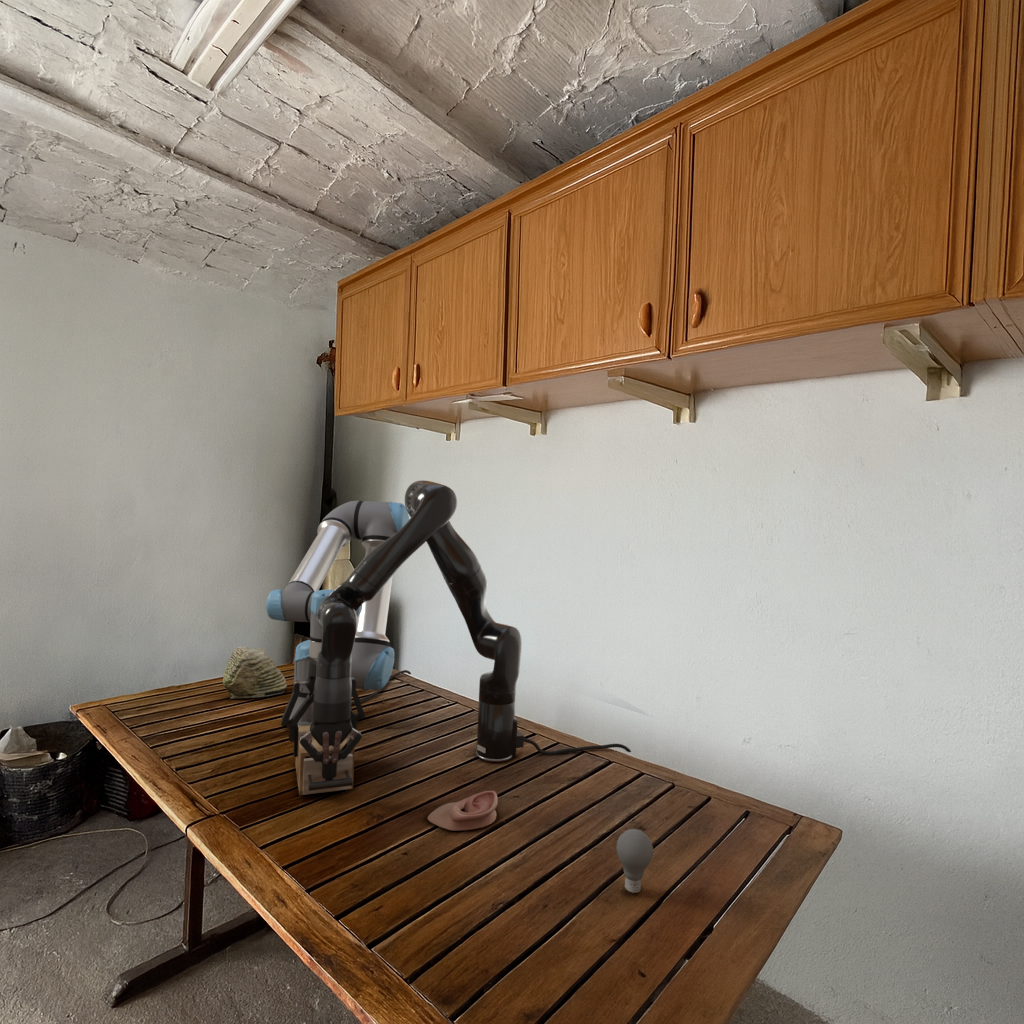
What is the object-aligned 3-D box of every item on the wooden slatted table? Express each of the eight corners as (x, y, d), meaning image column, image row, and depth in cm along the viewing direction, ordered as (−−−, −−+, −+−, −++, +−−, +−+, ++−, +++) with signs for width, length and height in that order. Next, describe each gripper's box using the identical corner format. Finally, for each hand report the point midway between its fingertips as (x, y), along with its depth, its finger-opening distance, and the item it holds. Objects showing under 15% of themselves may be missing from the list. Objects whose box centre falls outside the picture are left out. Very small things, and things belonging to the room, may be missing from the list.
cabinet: (353, 788, 138) (354, 747, 138) (299, 795, 134) (300, 753, 134) (343, 759, 153) (345, 722, 153) (295, 764, 149) (296, 726, 149)
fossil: (218, 695, 195) (220, 647, 195) (278, 685, 208) (279, 640, 207) (228, 703, 189) (230, 653, 188) (289, 692, 201) (290, 645, 201)
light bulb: (610, 879, 108) (613, 822, 108) (644, 879, 109) (647, 822, 109) (619, 902, 102) (622, 840, 102) (655, 901, 103) (658, 840, 103)
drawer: (355, 801, 131) (356, 766, 131) (304, 807, 127) (306, 772, 127) (343, 760, 150) (344, 730, 150) (298, 765, 146) (300, 734, 146)
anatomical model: (422, 806, 123) (441, 781, 134) (422, 826, 123) (440, 799, 134) (489, 816, 120) (502, 789, 132) (488, 836, 121) (501, 808, 132)
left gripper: (271, 664, 138) (268, 764, 139) (380, 659, 147) (376, 752, 147) (271, 656, 145) (267, 750, 146) (374, 651, 154) (371, 740, 154)
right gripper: (300, 704, 125) (296, 791, 125) (368, 699, 130) (364, 783, 130) (298, 693, 132) (294, 775, 132) (362, 689, 137) (358, 768, 137)
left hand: (322, 751), depth 146 cm, fingers closed on cabinet, 11 cm apart
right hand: (328, 779), depth 131 cm, fingers closed
